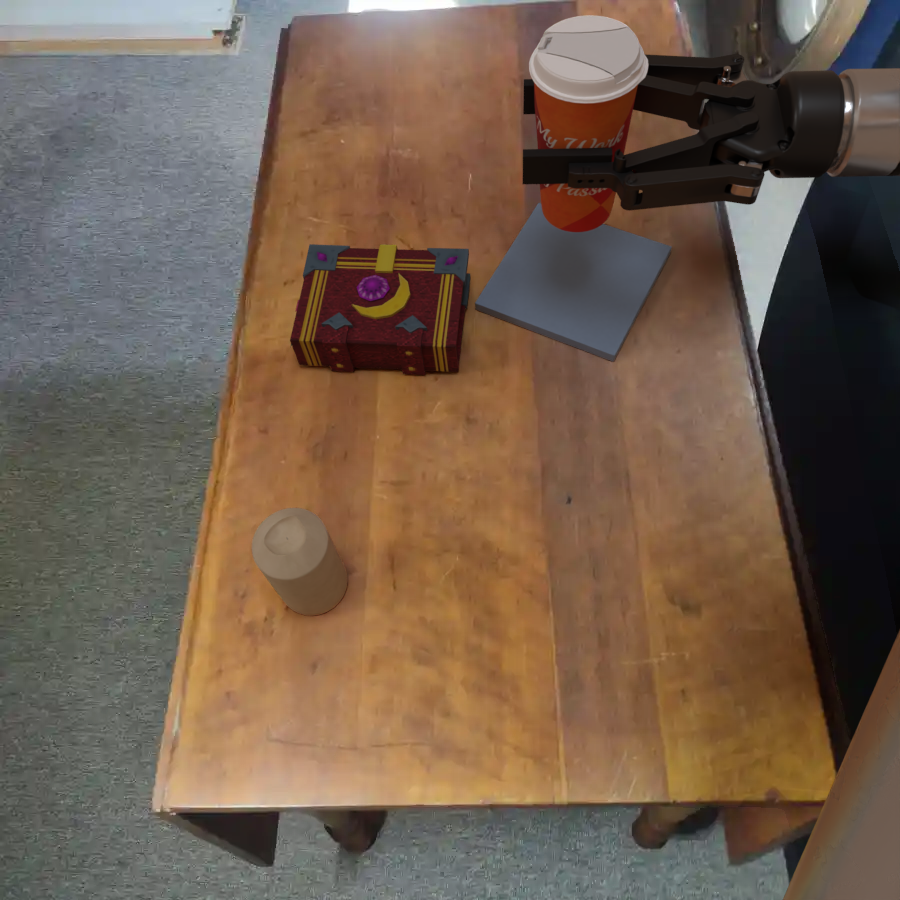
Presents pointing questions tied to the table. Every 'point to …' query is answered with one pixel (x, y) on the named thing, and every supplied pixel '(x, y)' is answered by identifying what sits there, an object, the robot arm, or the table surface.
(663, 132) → the table surface
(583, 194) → the coffee cup
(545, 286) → the cup mat
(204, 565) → the table surface
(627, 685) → the table surface
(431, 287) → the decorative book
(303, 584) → the candle
